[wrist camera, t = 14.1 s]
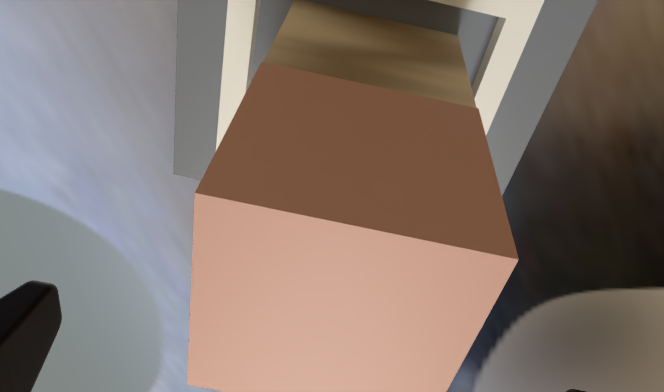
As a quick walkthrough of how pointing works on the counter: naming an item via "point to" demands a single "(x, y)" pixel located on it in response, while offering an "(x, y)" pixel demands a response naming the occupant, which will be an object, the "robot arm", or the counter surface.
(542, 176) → the counter surface
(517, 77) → the baseplate
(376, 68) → the maple block
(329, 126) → the terracotta block
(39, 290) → the robot arm
